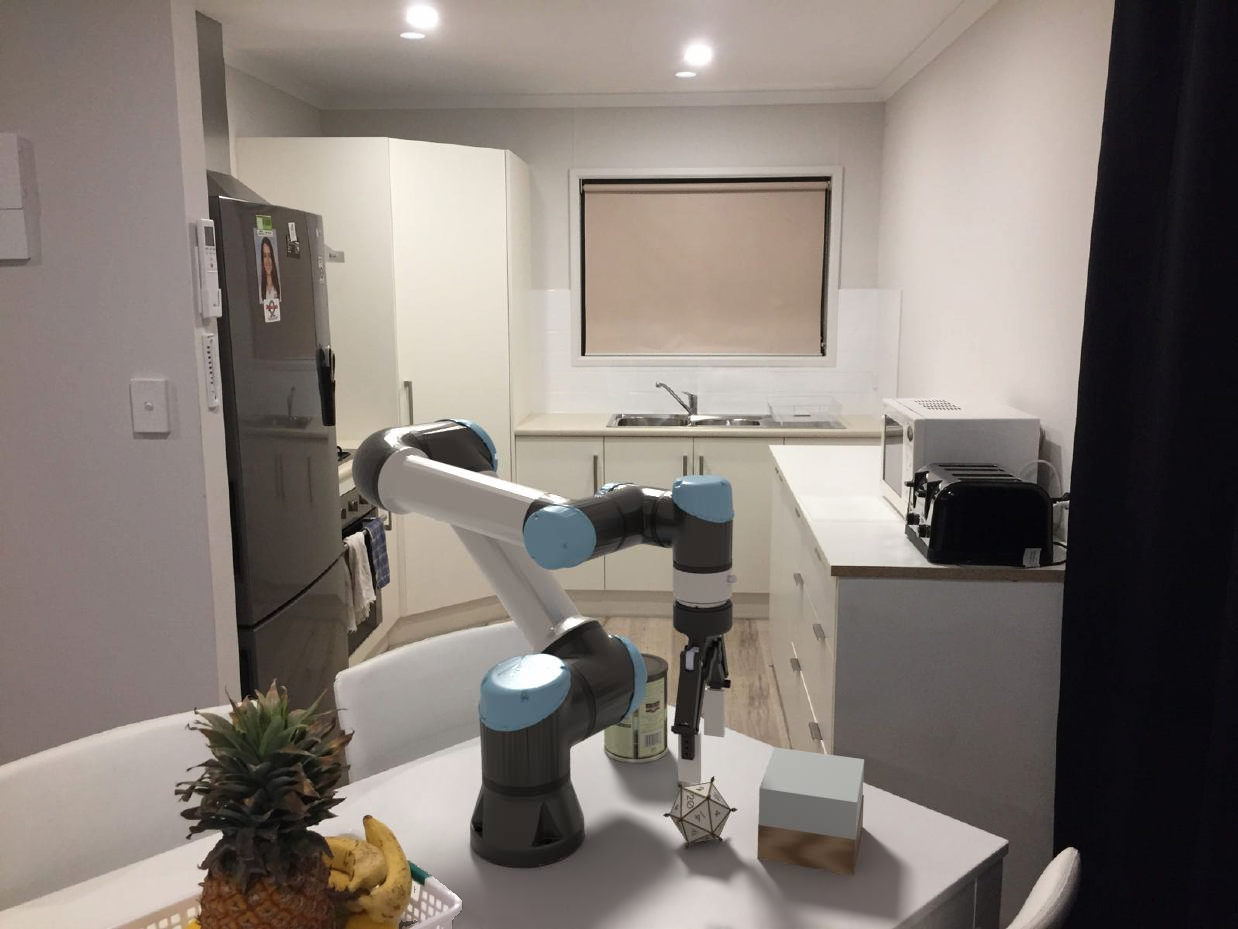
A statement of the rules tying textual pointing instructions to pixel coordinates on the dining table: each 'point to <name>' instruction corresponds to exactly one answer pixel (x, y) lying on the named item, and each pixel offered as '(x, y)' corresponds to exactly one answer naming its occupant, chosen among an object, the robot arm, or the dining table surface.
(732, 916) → the dining table surface
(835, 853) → the tower base
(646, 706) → the coffee can
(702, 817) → the game die
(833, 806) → the tower top
